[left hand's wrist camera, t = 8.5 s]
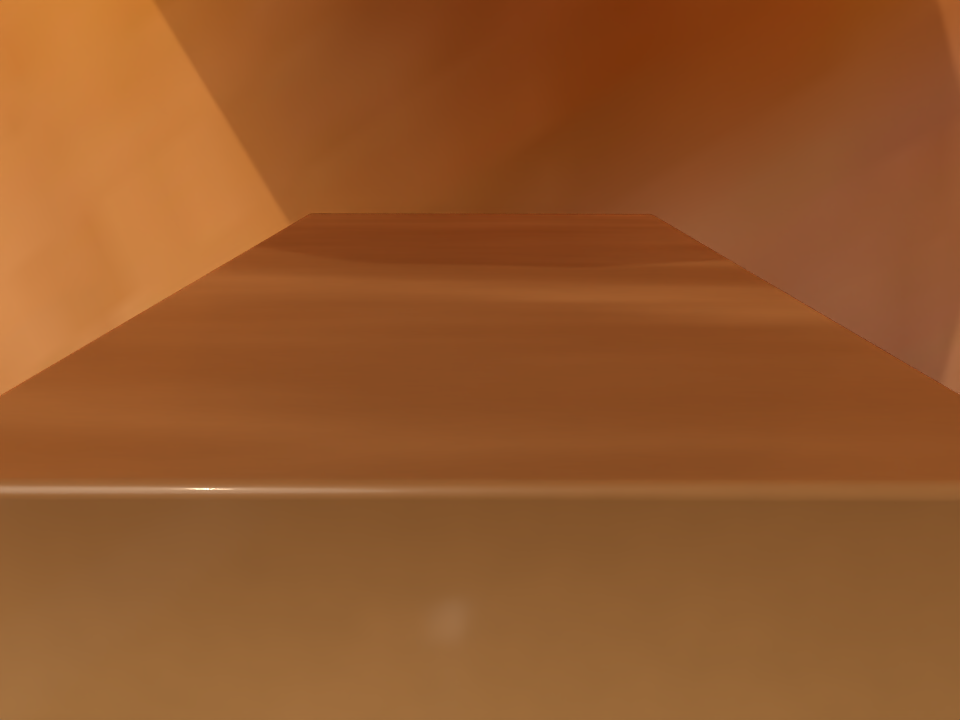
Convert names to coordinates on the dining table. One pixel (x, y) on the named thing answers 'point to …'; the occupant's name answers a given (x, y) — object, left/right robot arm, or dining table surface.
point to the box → (480, 492)
